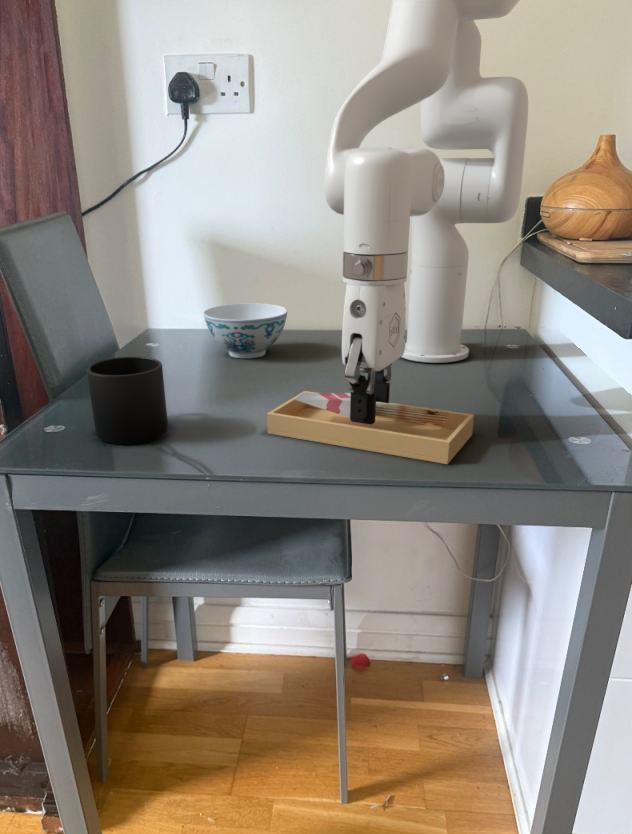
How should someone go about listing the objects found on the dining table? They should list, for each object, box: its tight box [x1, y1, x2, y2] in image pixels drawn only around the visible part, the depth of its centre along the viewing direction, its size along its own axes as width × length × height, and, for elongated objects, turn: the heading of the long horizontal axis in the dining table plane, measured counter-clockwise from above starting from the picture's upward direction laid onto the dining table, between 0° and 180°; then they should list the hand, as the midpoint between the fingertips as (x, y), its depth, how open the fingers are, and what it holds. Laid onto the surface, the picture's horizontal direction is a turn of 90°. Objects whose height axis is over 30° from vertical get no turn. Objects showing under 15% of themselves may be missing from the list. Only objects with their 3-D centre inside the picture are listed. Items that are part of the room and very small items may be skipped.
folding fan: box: [294, 392, 449, 427], centre depth 91 cm, size 4×3×20 cm
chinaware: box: [203, 302, 288, 359], centre depth 129 cm, size 15×15×8 cm
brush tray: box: [266, 390, 475, 465], centre depth 92 cm, size 11×24×3 cm, turn 62°
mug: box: [86, 356, 169, 445], centre depth 94 cm, size 9×12×9 cm
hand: (369, 415), depth 92 cm, fingers closed on folding fan, 3 cm apart
